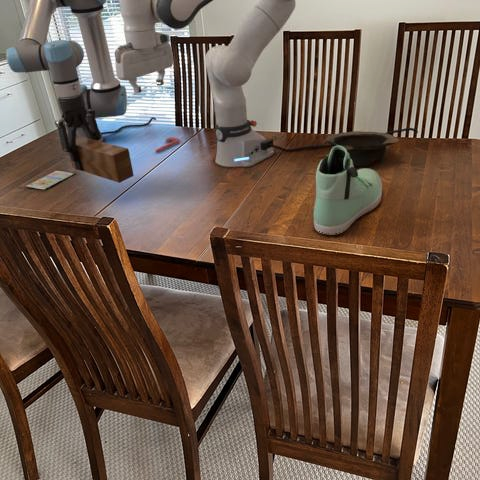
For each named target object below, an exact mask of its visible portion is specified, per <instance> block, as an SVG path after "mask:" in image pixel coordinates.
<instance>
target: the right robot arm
mask: <svg viewBox="0 0 480 480" xmlns="http://www.w3.org/2000/svg"><path fill="white" fill-rule="evenodd" d="M213 1H214V0H118V6H119V10H120V16H121V17H122V20H123V33H124V38H125V44H123V45H122V44H120V45H118V46H117V47H116V48H115V50H114V52H113V53H114V62H115V64H114V65H115V73H116V78H117V79H118V80H119V81H124V82H125V81H126V82H127V81H128V83H129V84H130V85H131V87H132V90H133V93H134V94H140V93H142V87H141V85H138V83H137V82H138V78H140V77H144V76H147V75H150V74H153V73H157V74H158V75H157V78H156V79H155V82H156V85H157V86H158V87H162V86H164V84H165V82H164V79H165V75H166V69H170V68H172V67H173V65H174V56H173V54H174V53H173V50H172V46H171V44H170V41H171V38H170V34H166V33H162V32H157V31H156V24H162V25H165V26H167V27H169V28H170V29H173V30H181V29H184V28H186V27H188V26H189V25H190V24H191V23H192V22H193V20H194V19H195V17H196V16H197V14H198V13H199V12H200V11H201V10H202V9H203V8H204V7H206V6H207V5H209V4H210V3H212V2H213ZM296 4H297V3H296V0H259V1H258V2H257V3H256V4H255V5H254V6H253V8H252V9H251V10H250V12H248V14H247V15H246V16H245V17H244V18H243V20H242V21H241V22H240V23H239V24H238V26H237V27H236V28H237V29H236V32H235V34H234V36H233V38H232V39H231V40H230V43H229V44H228V45H223V44H220V45H215V46H212V47H211V48H209V50H208V51H207V52H206V54H205V57H204V64H205V68H206V72H207V77H208V81H209V86H210V87H209V88H210V90H211V95H212V99H213V106H214V115H215V123H214V128H215V129H214V130H215V137H216V154H215V160H214V161H215V164H217V165H218V166H221V167H228V168H236V167H237V168H238V167H246V168H248V167H249V168H250V167H252V166H254V165H256V164H258V163H260V162H261V161H264V160H265V159H268V158H269V157H271V156H273V155H275V152H274V150H273V148H274V149H277V150H280V151H282V152H297V151H301V150H308V149H322V148H323V149H324V148H333V147H334V145H331V144H317V145H303V146H299V147H294V148H284V147H282V146H278V145H276V144H274V139H273V138H267V139H266V137H265V136H263V135H262V134H261V133H258V131H255V130H254V129H253V128H255V127H257V124H258V122H257V121H256V120H252V119H251V120H249V119H248V115H247V98H246V96H245V93H244V90H243V86H244V85H245V84H247V83H248V81H250V78H251V76H252V71H253V68H254V67H255V65H256V63H257V62H258V60H259V57H260V56H261V54H262V53H263V51H264V50H265V49H266V47H267V46H268V45H269V44H270V43H271V41H272V40H273V39H274V38H275V37H276V36H277V35H278V33H279V32H280V31H281V30H282V29H283V27H284V26H285V25H286V23H287V22H288V20H289V19H290V18H291V15H292V14H293V12H294V11H295V9H296ZM252 127H253V128H252ZM407 131H412V132H414V133H415V134H416V133H417V134H418V133H419V131H418V130H417V129H415V128H414V127H405V128H402V129H395V130H391V131H387V132H384V133H385V134H389V135H392V134H397V133H402V132H407Z"/></svg>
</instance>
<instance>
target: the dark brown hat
mask: <svg viewBox="0 0 480 480" xmlns="http://www.w3.org/2000/svg"><path fill="white" fill-rule="evenodd" d="M385 133H386V132H380V131H379V132H378V131H362V130H361V131H360V130H354V131H353V130H352V131H345V132H343V131H342V132H338V133H333V134H330V135H328V136H326V138H325V141H324V143H327V145H329V144H331V145H334V146H342V147H344V148H345V149H346V150H347V152H348V153H349V156H350V159H352V161H353V166H354V167H361V166H370V165H372V164H373V162H374V161H383V160H384V159H385V157H386V152H387V151H386V150H387V147H389V146H391V145H394V144H396V143H398V142H399V139H398V138H397V137H395V136H394V135H392V134H385Z"/></svg>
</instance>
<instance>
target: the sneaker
mask: <svg viewBox="0 0 480 480" xmlns="http://www.w3.org/2000/svg"><path fill="white" fill-rule="evenodd" d="M317 165H318V166H317V168H316V172H315V201H314V207H313V225H314V229H315V231H316V232H318V233H320V234H323V235H326V236H327V235H328V236H336V235H339V234H342V233H344V232H345V231H347V230H348V229H349V228H350V227H351V226H352V225H353V224H354V222H356V221H357V220H358V219H359V218H360V217H362V216H363V215H365V214H367V213H370V212H372V210H374V209H375V208H377V207H378V205H380V203H381V200H382V196H383V184H382V183H383V182H382V179H381V176H380V175H379V173H378V172H377V171H376V170H374V169H372V168H367V167H365V168H358V169H357V168H355V166H353V161H352V159H350V156H349V153H348V152H347V150H346V149H345V148H344V147H342V146H334V147H331V149H330V151H329V154H327V155H326V156H325V157H324V158H322V159H321V160H320V161H319V163H318V164H317ZM343 230H344V231H343ZM319 231H320V232H319ZM322 232H323V233H322ZM339 232H340V233H339ZM326 233H327V234H326ZM328 233H329V234H328ZM335 233H337V234H335Z"/></svg>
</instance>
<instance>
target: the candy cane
mask: <svg viewBox="0 0 480 480" xmlns="http://www.w3.org/2000/svg"><path fill="white" fill-rule="evenodd" d="M164 142H165V143H166V144H164V145H162V146H160V147H157V148H156V149H155V153H160V152H162V151H165V150H166V149H168V148H171V147H172V146H175V145H176V144H179V143H180V138H179V137H177V136H172V137H168V138H166V139H165V140H164Z"/></svg>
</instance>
